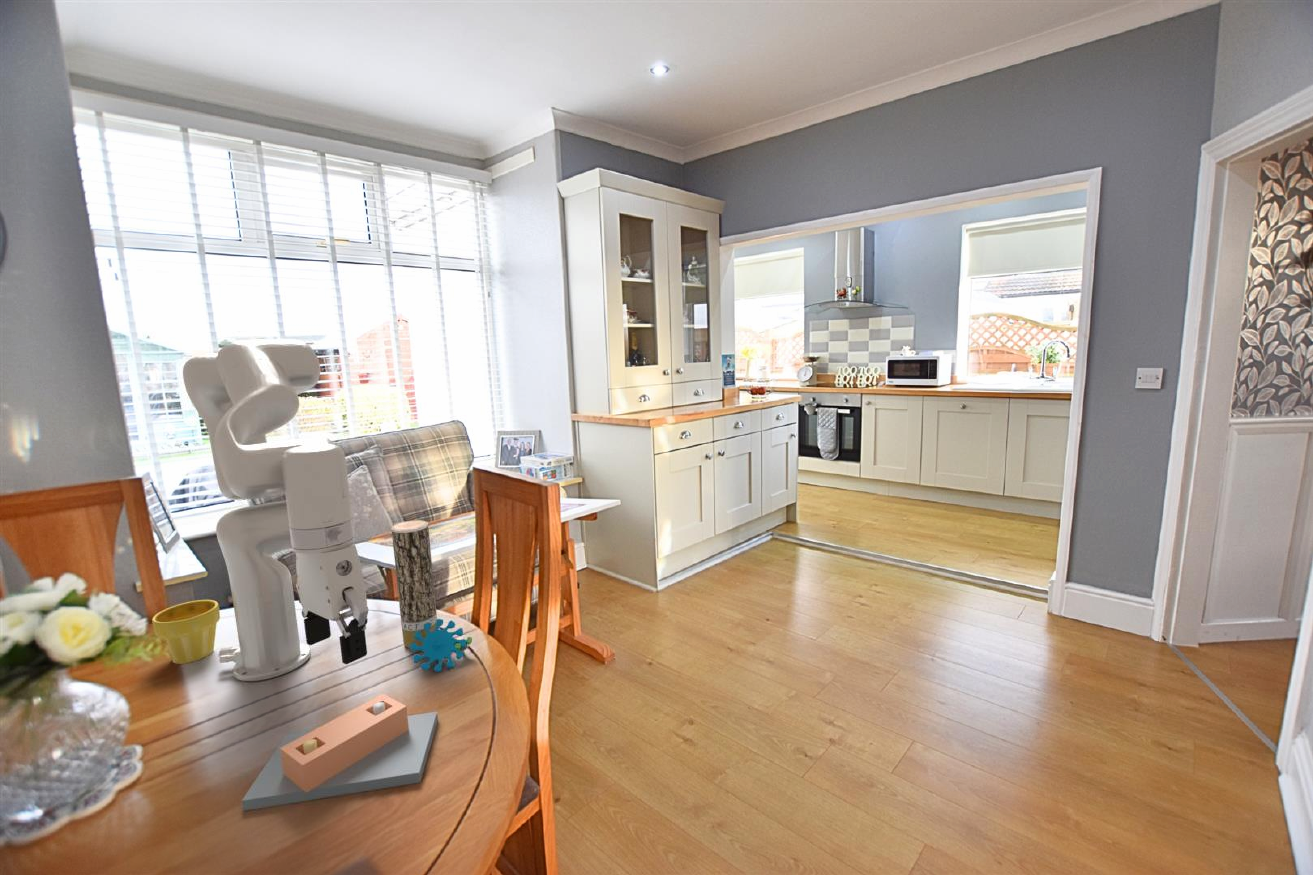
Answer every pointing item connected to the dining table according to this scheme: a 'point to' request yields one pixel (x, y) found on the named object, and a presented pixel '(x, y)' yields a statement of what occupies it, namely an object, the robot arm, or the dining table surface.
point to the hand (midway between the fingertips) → (336, 649)
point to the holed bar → (343, 742)
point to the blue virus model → (439, 645)
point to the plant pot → (188, 629)
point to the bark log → (414, 579)
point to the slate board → (350, 767)
